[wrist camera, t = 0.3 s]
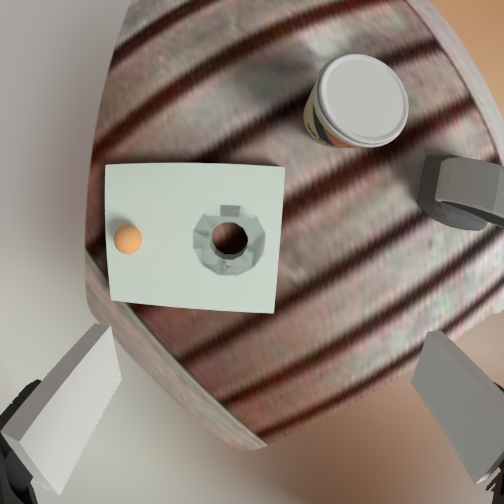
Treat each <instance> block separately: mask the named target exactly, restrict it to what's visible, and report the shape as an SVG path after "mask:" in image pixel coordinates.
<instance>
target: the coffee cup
mask: <svg viewBox="0 0 504 504" xmlns="http://www.w3.org/2000/svg"><path fill="white" fill-rule="evenodd" d="M407 116H408V98H407V94H406V91H405V89H404V86H403V84H402V82H401V81H400V79H399V78H398V76H397V75H396V74H395V73H394V72H393V71H392V70H391V69H390V68H389V67H388V66H387V65H385V64H384V63H383V62H381V61H379V60H377V59H375V58H373V57H370V56H367V55H362V54H344V55H340V56H338V57H335V58H333V59H332V60H330V61H329V62H327V63H326V64H325V65H324V66H323V68H322V69H321V70H320V72H319V74H318V76H317V79H316V82H315V85H314V87H313V89H312V92H311V94H310V96H309V98H308V101H307V103H306V105H305V108H304V114H303V118H304V124H305V127H306V129H307V131H308V133H309V134H310V135H311V137H312V138H313V139H315V140H316V141H317V142H318V143H320V144H322V145H324V146H327V147H331V148H348V147H378V146H382V145H384V144H387V143H389V142H391V141H392V140H394V139H395V138H396V137H397V136H398V135H399V134H400V132H401V131H402V129H403V127H404V125H405V123H406V119H407Z"/></svg>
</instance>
